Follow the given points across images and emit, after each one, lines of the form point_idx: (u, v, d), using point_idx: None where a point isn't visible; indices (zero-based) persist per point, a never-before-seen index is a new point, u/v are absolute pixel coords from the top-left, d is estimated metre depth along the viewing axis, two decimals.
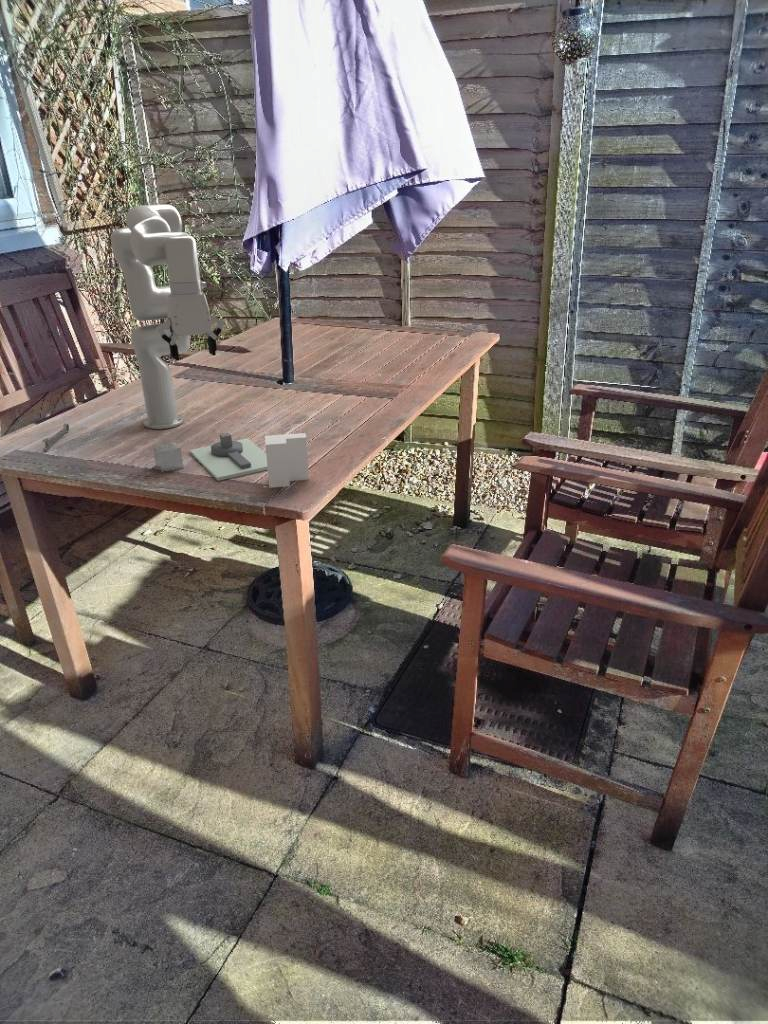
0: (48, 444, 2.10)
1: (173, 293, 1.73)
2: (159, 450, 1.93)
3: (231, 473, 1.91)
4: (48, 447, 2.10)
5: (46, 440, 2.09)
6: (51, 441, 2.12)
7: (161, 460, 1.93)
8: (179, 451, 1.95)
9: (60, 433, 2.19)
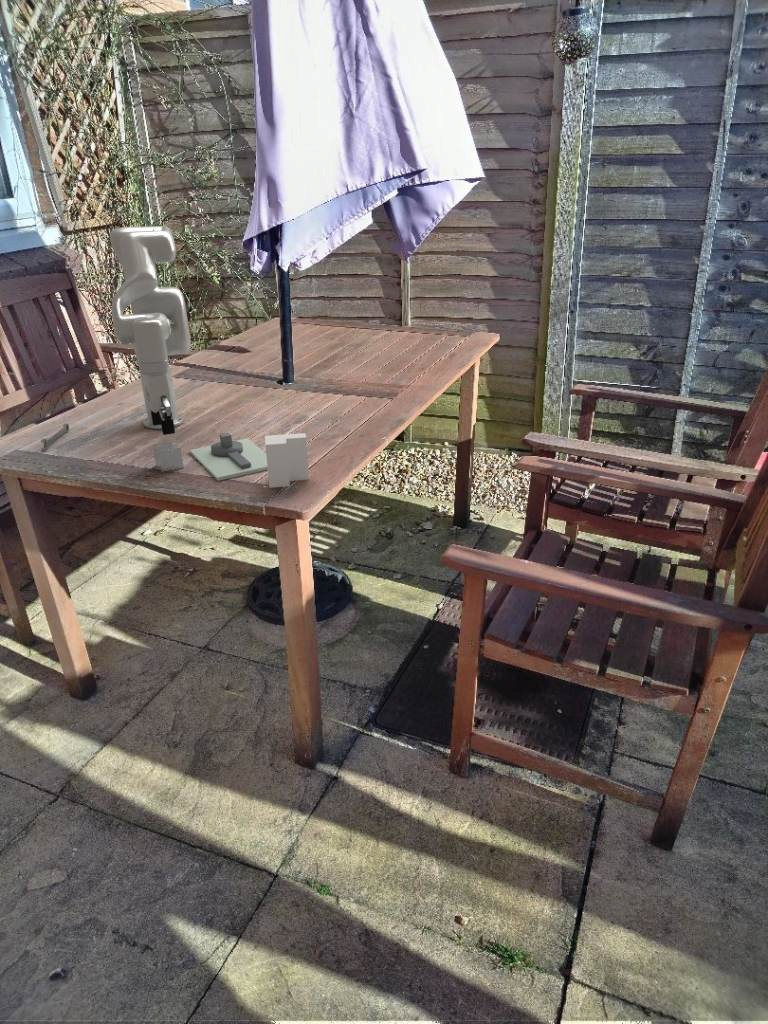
0: (46, 444, 2.10)
1: (162, 371, 1.83)
2: (159, 450, 1.93)
3: (231, 473, 1.91)
4: (46, 447, 2.10)
5: (44, 440, 2.09)
6: (50, 441, 2.12)
7: (161, 460, 1.93)
8: (179, 451, 1.95)
9: (59, 433, 2.19)
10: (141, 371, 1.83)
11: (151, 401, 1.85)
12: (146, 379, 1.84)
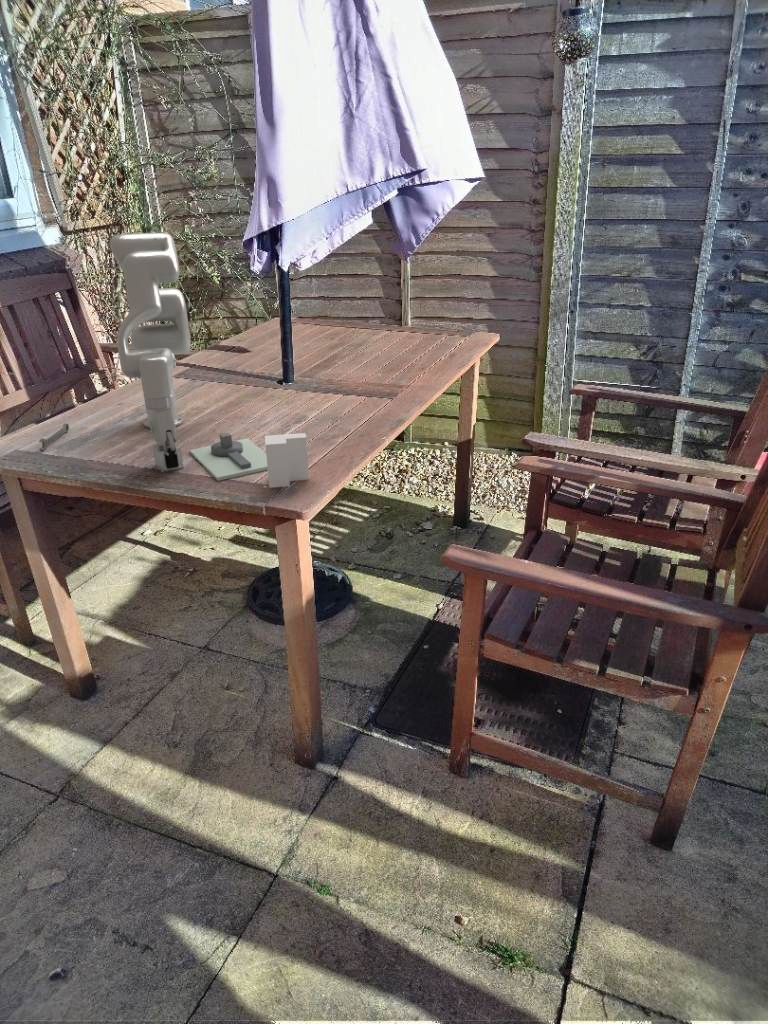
0: (45, 444, 2.10)
1: (168, 406, 1.88)
2: (159, 450, 1.93)
3: (231, 473, 1.91)
4: (45, 447, 2.10)
5: (43, 440, 2.09)
6: (48, 441, 2.12)
7: (161, 460, 1.93)
8: (179, 451, 1.95)
9: (59, 433, 2.19)
10: (147, 406, 1.87)
11: (156, 435, 1.90)
12: (152, 414, 1.89)
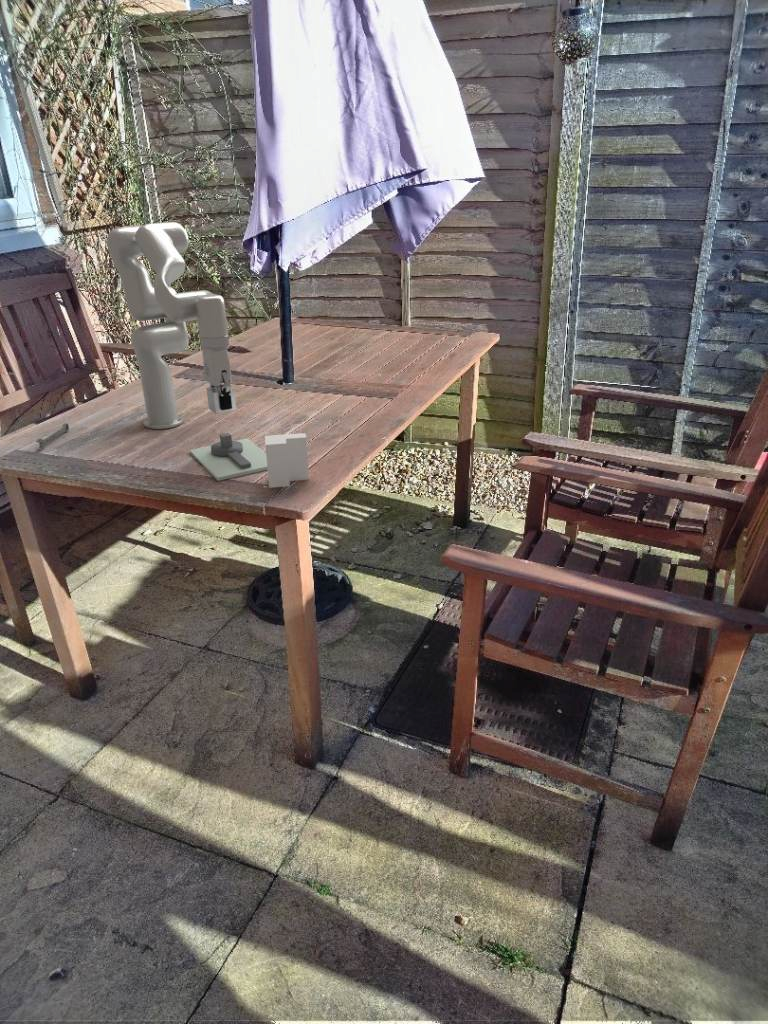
0: (42, 444, 2.10)
1: (223, 346, 1.89)
2: (213, 391, 1.94)
3: (231, 473, 1.91)
4: (42, 447, 2.10)
5: (40, 440, 2.09)
6: (46, 441, 2.12)
7: (215, 401, 1.94)
8: (233, 393, 1.96)
9: (57, 433, 2.19)
10: (203, 346, 1.89)
11: (212, 375, 1.91)
12: (207, 354, 1.90)
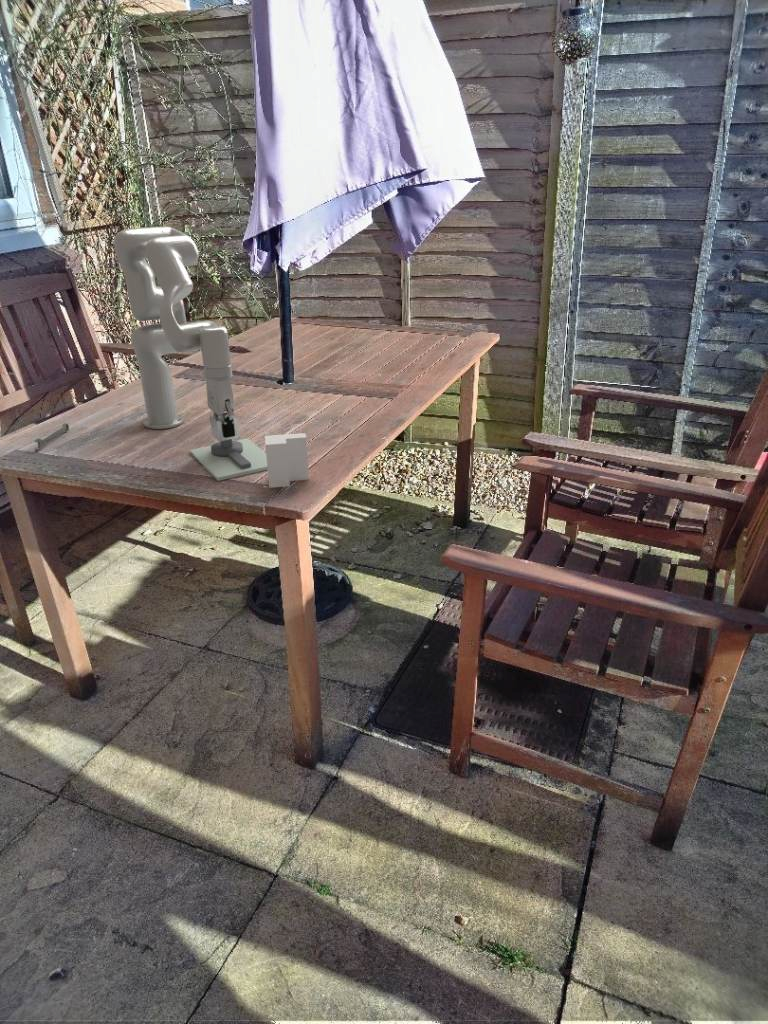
0: (41, 444, 2.10)
1: (226, 376, 1.93)
2: (217, 419, 1.98)
3: (231, 473, 1.91)
4: (40, 447, 2.10)
5: (38, 440, 2.09)
6: (45, 441, 2.13)
7: (219, 429, 1.98)
8: (236, 421, 2.00)
9: (57, 433, 2.19)
10: (206, 376, 1.93)
11: (215, 404, 1.95)
12: (211, 383, 1.94)
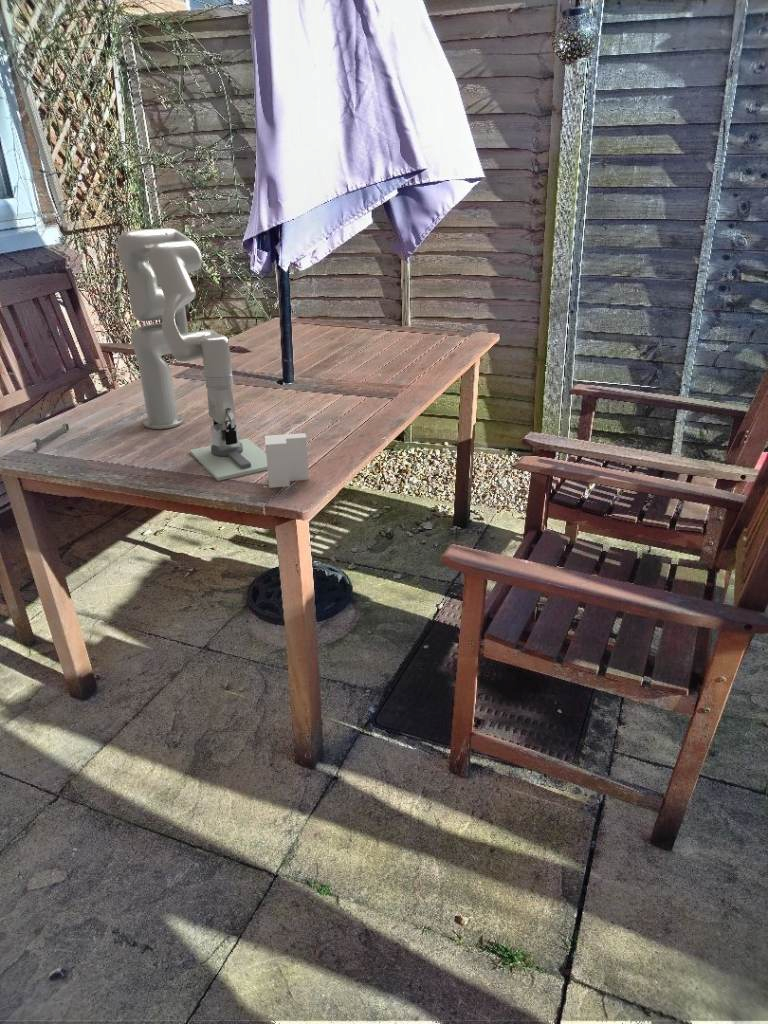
0: (39, 444, 2.10)
1: (227, 385, 1.94)
2: (218, 429, 1.99)
3: (231, 473, 1.91)
4: (39, 447, 2.10)
5: (36, 440, 2.09)
6: (43, 441, 2.13)
7: (219, 439, 2.00)
8: (236, 431, 2.01)
9: (56, 433, 2.19)
10: (207, 385, 1.94)
11: (216, 413, 1.96)
12: (212, 392, 1.95)
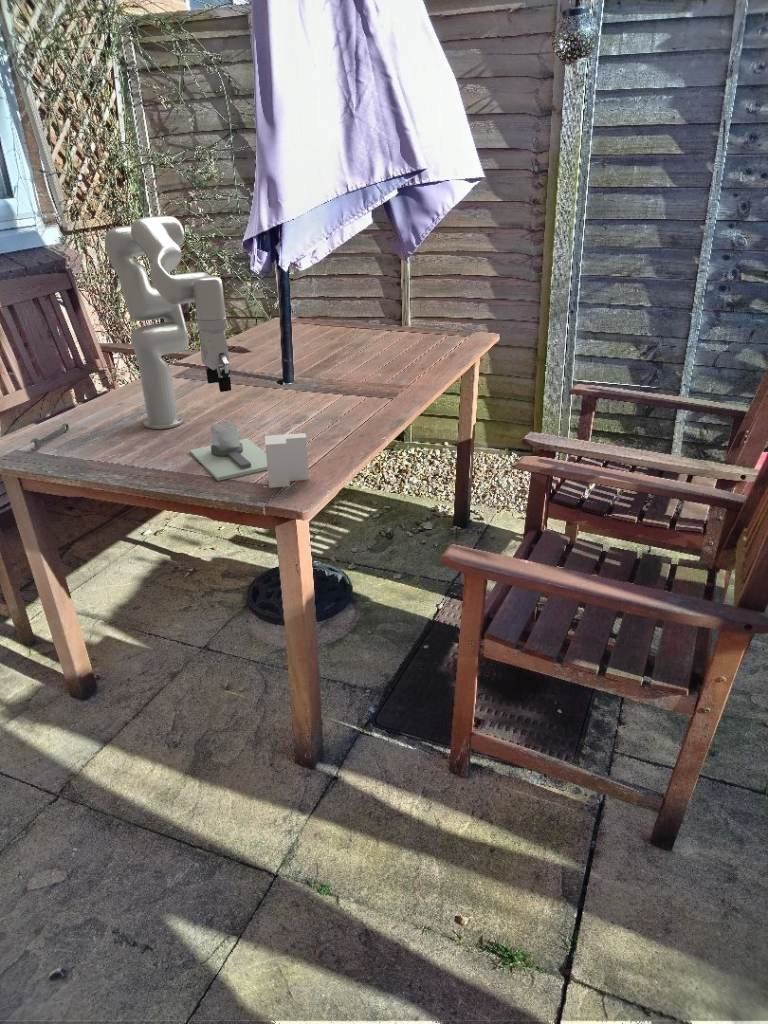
0: (37, 444, 2.11)
1: (221, 329, 1.87)
2: (218, 429, 1.99)
3: (231, 473, 1.91)
4: (37, 447, 2.11)
5: (35, 440, 2.09)
6: (42, 441, 2.13)
7: (219, 439, 2.00)
8: (236, 431, 2.01)
9: (55, 433, 2.19)
10: (200, 328, 1.87)
11: (209, 358, 1.89)
12: (205, 336, 1.88)
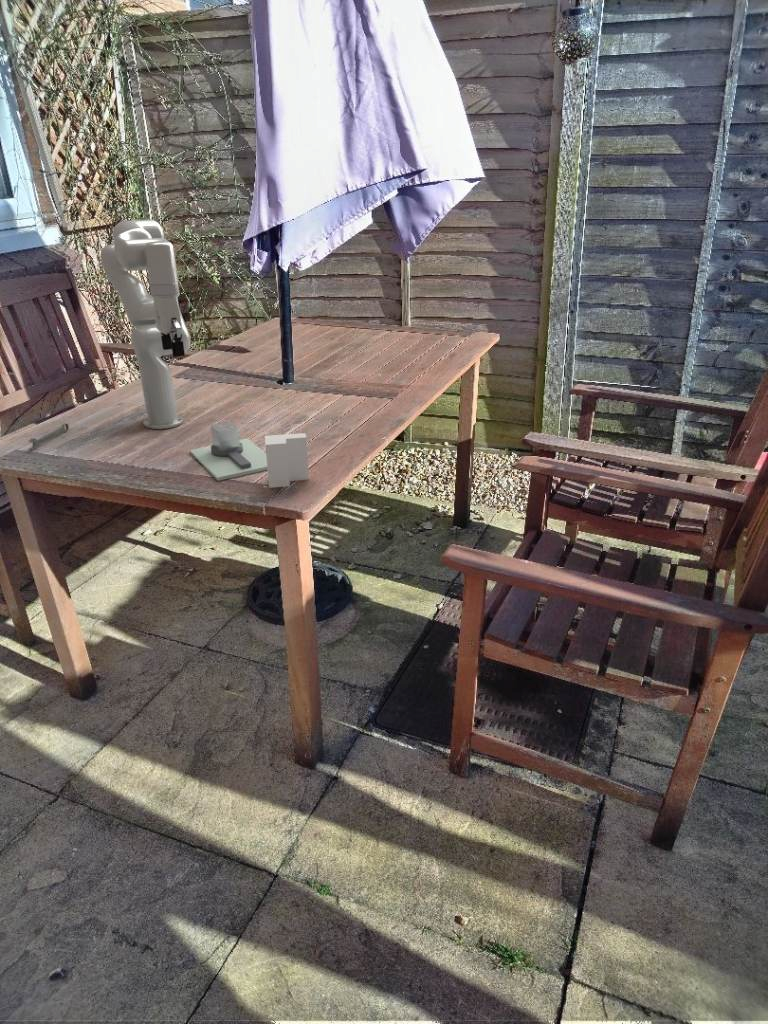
0: (35, 444, 2.11)
1: (173, 294, 1.90)
2: (218, 429, 1.99)
3: (231, 473, 1.91)
4: (35, 447, 2.11)
5: (33, 440, 2.09)
6: (40, 441, 2.13)
7: (219, 439, 2.00)
8: (236, 431, 2.01)
9: (54, 433, 2.19)
10: (152, 293, 1.90)
11: (162, 323, 1.92)
12: (157, 301, 1.91)
